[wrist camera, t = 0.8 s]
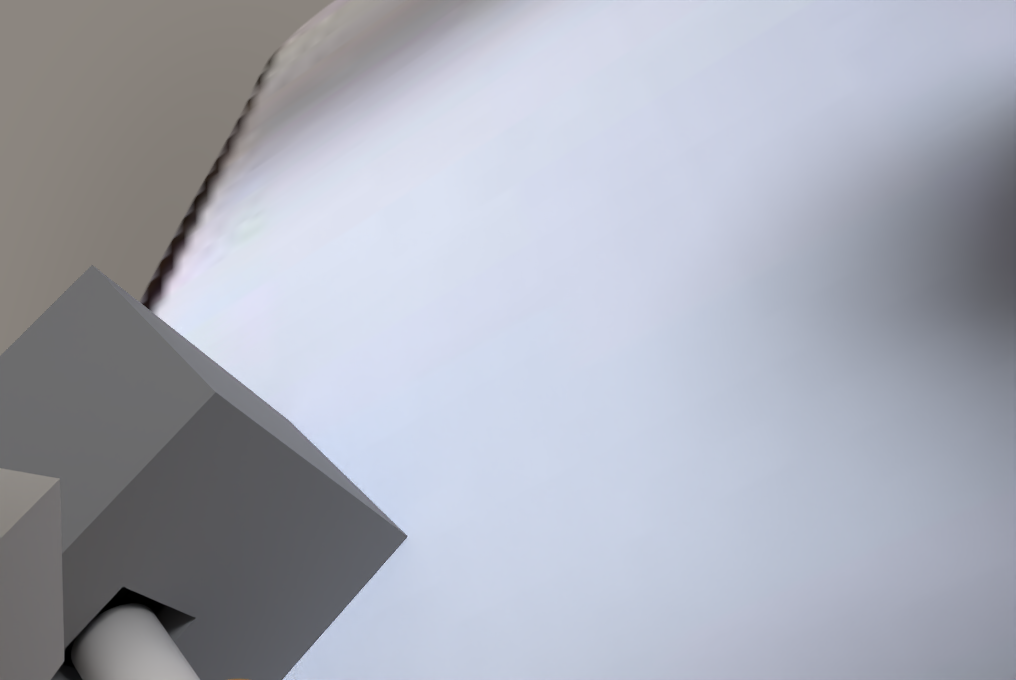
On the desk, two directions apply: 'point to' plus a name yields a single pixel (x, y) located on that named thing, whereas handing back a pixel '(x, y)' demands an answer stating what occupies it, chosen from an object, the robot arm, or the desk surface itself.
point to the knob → (129, 648)
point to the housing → (181, 489)
